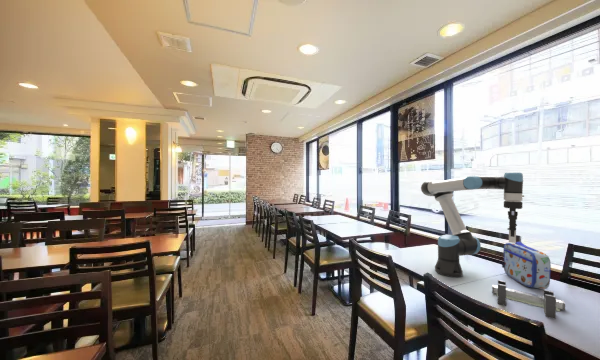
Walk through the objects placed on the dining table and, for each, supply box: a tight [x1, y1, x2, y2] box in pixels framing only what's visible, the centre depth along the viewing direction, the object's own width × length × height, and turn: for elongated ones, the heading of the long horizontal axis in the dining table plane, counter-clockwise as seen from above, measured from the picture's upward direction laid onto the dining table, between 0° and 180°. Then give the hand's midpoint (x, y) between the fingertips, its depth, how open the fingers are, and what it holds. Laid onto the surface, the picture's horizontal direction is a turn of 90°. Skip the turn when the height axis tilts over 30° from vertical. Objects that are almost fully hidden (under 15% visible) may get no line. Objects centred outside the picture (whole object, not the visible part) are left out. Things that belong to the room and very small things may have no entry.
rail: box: [491, 284, 566, 311], centre depth 115 cm, size 26×3×3 cm, turn 49°
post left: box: [497, 279, 507, 307], centre depth 114 cm, size 3×6×10 cm, turn 139°
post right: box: [543, 289, 557, 320], centre depth 103 cm, size 3×6×10 cm, turn 139°
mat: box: [496, 294, 561, 312], centre depth 115 cm, size 22×7×1 cm, turn 49°
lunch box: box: [501, 241, 552, 290], centre depth 137 cm, size 28×10×22 cm, turn 168°
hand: (512, 240), depth 126 cm, fingers open, 13 cm apart
